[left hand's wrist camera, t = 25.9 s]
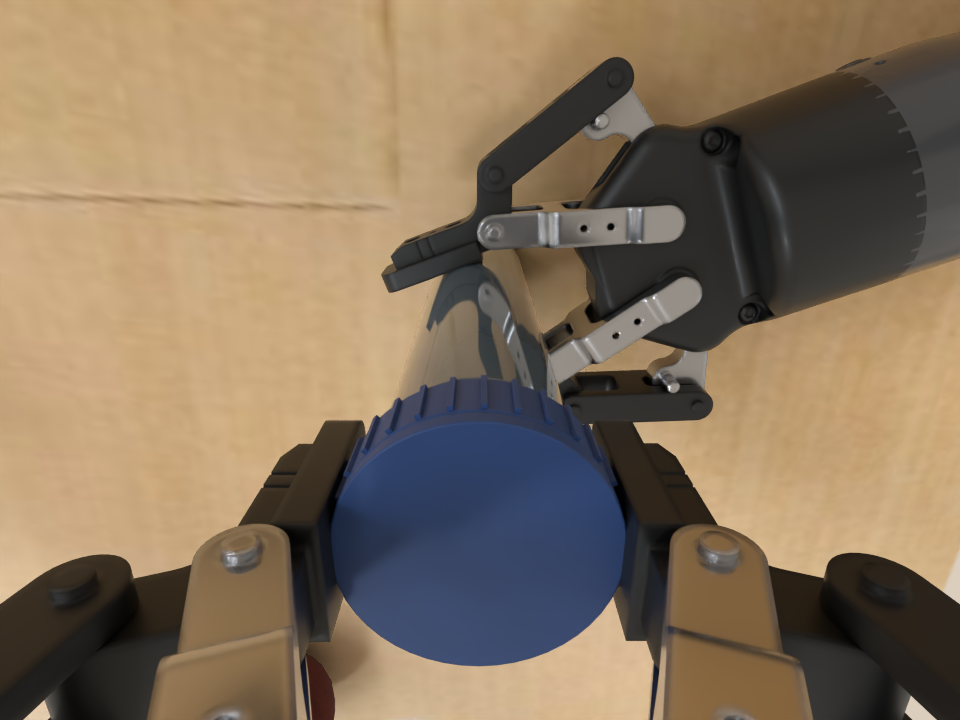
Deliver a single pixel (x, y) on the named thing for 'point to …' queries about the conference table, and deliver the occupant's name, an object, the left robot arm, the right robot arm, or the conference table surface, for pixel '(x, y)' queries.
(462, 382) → the lid
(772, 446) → the conference table surface
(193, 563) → the left robot arm
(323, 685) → the potato
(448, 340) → the grey cylinder
